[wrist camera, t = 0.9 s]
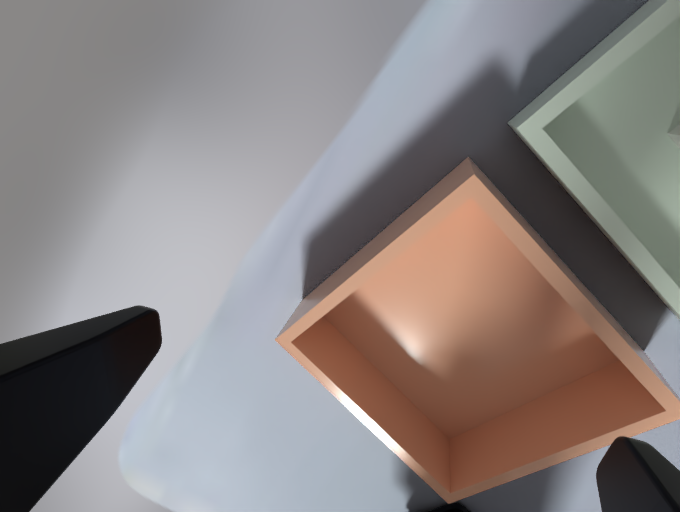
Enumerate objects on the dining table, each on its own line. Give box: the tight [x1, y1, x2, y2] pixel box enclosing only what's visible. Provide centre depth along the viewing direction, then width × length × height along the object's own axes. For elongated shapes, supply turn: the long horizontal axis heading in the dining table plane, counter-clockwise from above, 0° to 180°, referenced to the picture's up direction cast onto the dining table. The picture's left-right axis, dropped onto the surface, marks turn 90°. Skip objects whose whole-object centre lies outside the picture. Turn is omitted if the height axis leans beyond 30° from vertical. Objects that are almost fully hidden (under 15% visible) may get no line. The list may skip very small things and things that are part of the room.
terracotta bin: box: [275, 156, 680, 504], centre depth 19 cm, size 13×12×4 cm
